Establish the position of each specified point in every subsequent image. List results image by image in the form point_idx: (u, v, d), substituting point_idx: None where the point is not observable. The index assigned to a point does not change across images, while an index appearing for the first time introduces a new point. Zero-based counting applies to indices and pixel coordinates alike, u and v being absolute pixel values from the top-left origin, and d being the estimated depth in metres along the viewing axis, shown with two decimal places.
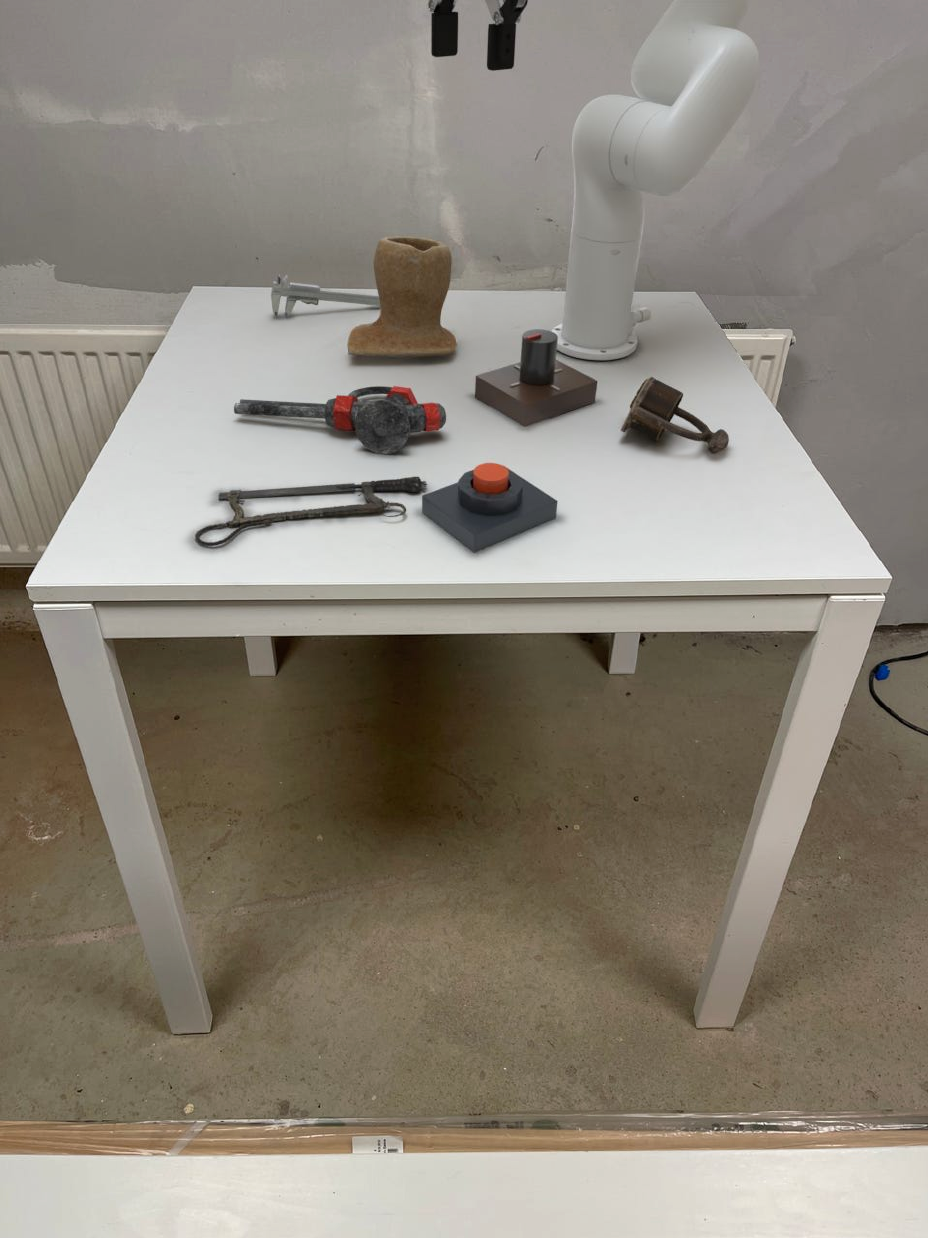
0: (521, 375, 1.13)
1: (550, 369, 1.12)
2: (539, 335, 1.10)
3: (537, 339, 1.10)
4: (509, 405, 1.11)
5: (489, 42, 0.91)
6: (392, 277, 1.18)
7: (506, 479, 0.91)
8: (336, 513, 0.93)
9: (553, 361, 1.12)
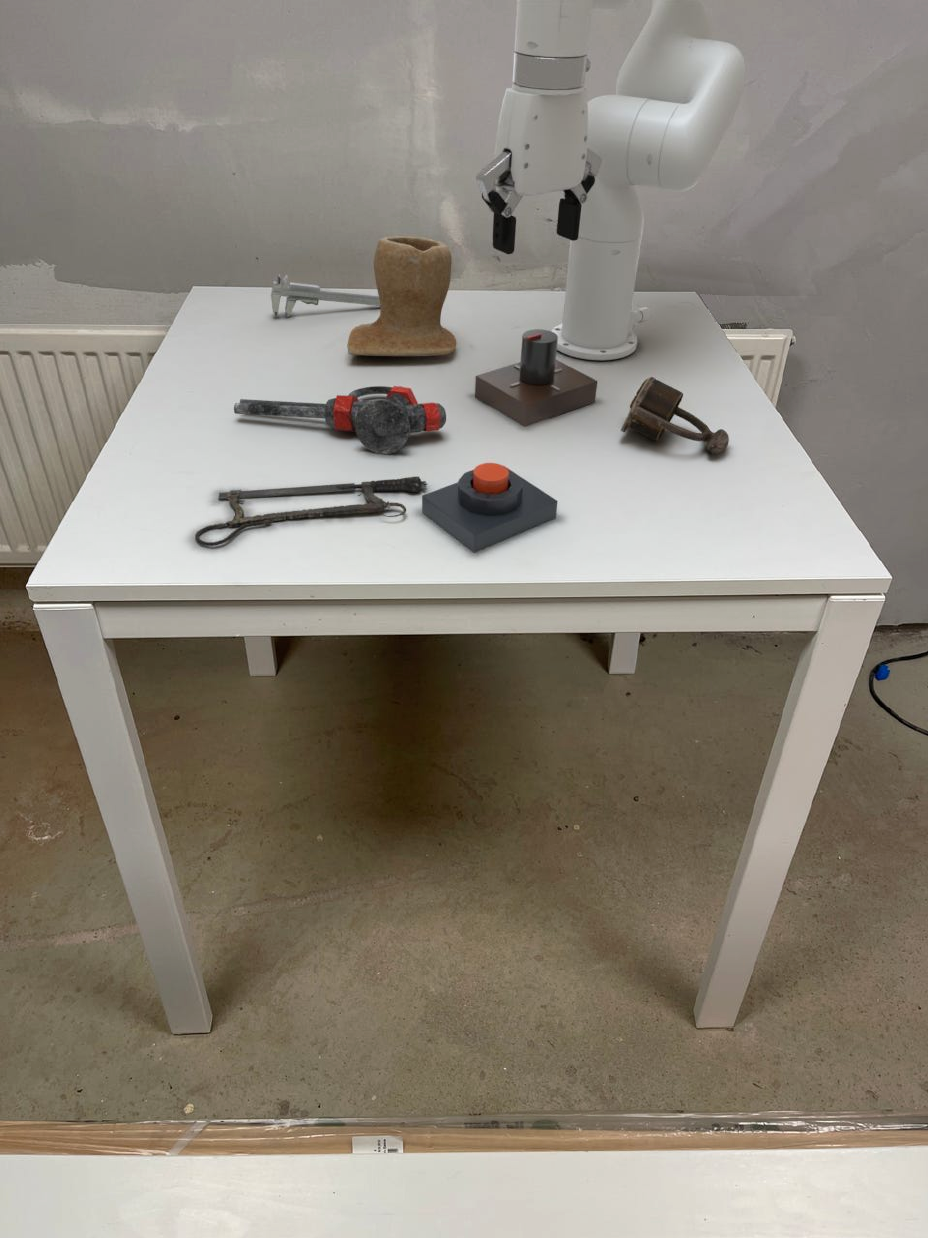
0: (521, 375, 1.13)
1: (550, 369, 1.12)
2: (539, 335, 1.10)
3: (537, 339, 1.10)
4: (509, 405, 1.11)
5: (578, 219, 1.04)
6: (391, 277, 1.18)
7: (506, 479, 0.91)
8: (336, 513, 0.93)
9: (553, 361, 1.12)
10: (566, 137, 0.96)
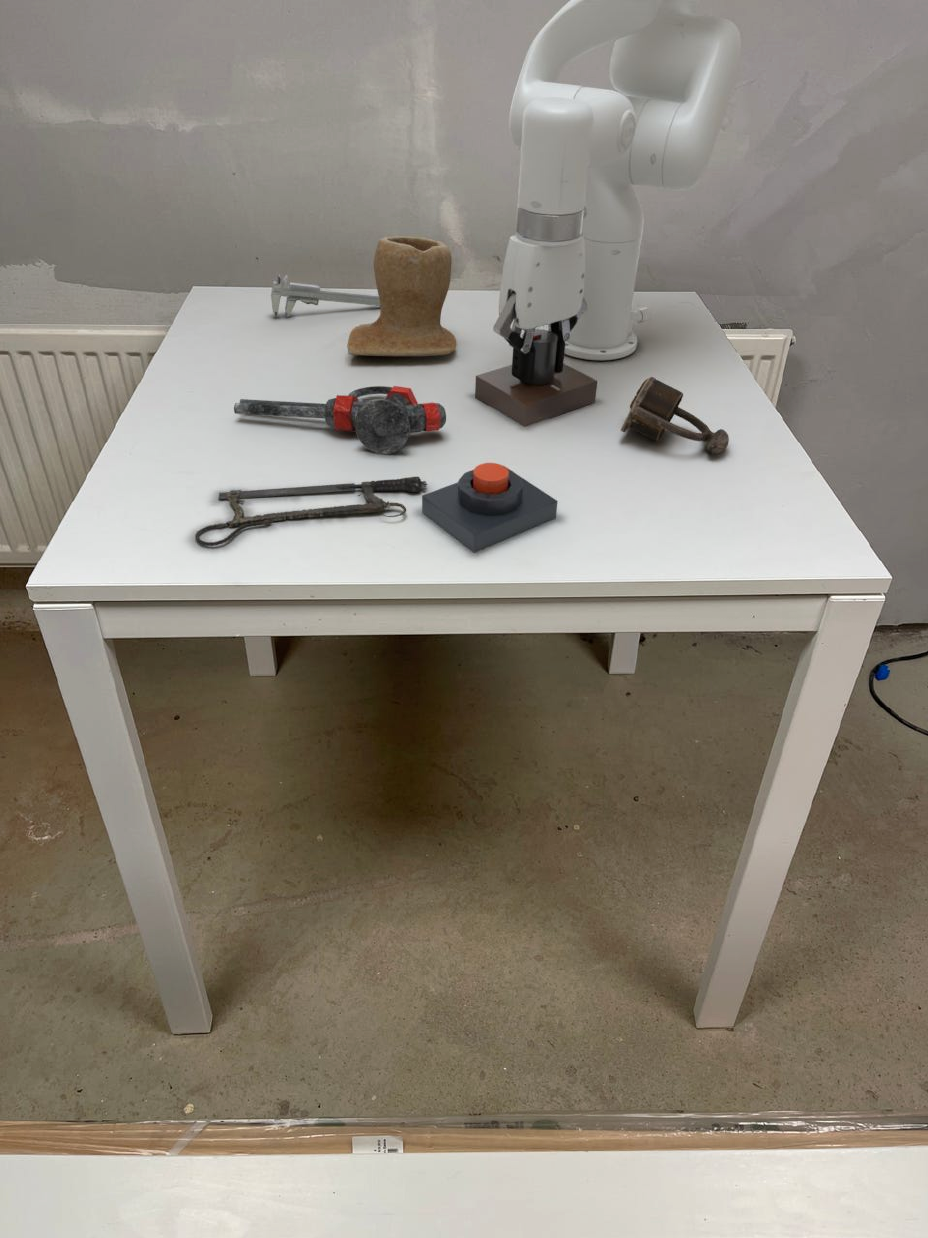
0: None
1: (550, 369, 1.12)
2: (539, 335, 1.10)
3: (537, 339, 1.10)
4: (509, 405, 1.11)
5: (562, 355, 1.13)
6: (391, 277, 1.18)
7: (506, 479, 0.91)
8: (336, 513, 0.93)
9: (553, 361, 1.12)
10: (566, 277, 1.05)
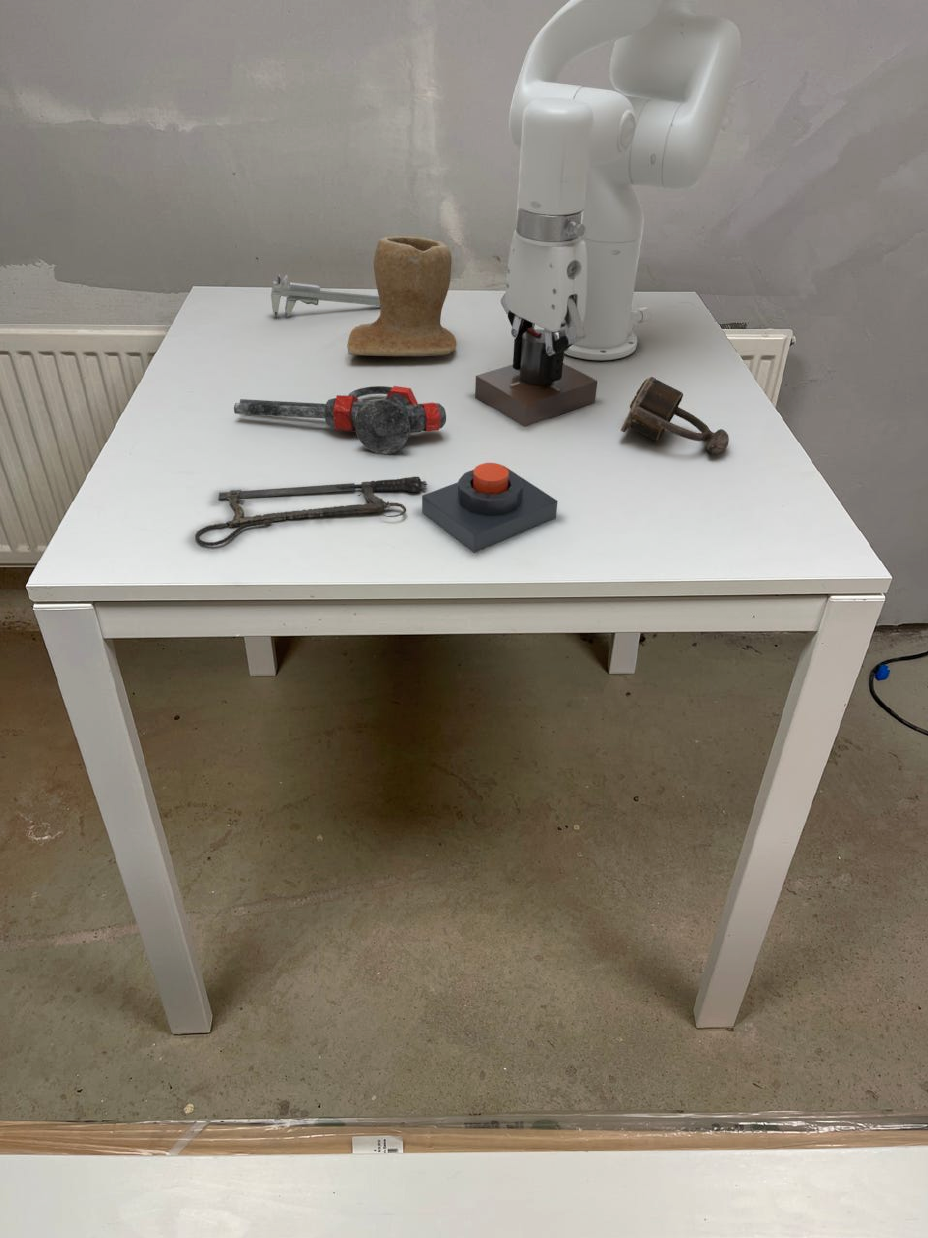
0: None
1: (525, 368, 1.12)
2: (536, 333, 1.11)
3: (531, 334, 1.11)
4: (509, 405, 1.11)
5: (542, 366, 1.10)
6: (391, 277, 1.18)
7: (506, 479, 0.91)
8: (336, 513, 0.93)
9: (529, 362, 1.11)
10: (535, 279, 1.04)
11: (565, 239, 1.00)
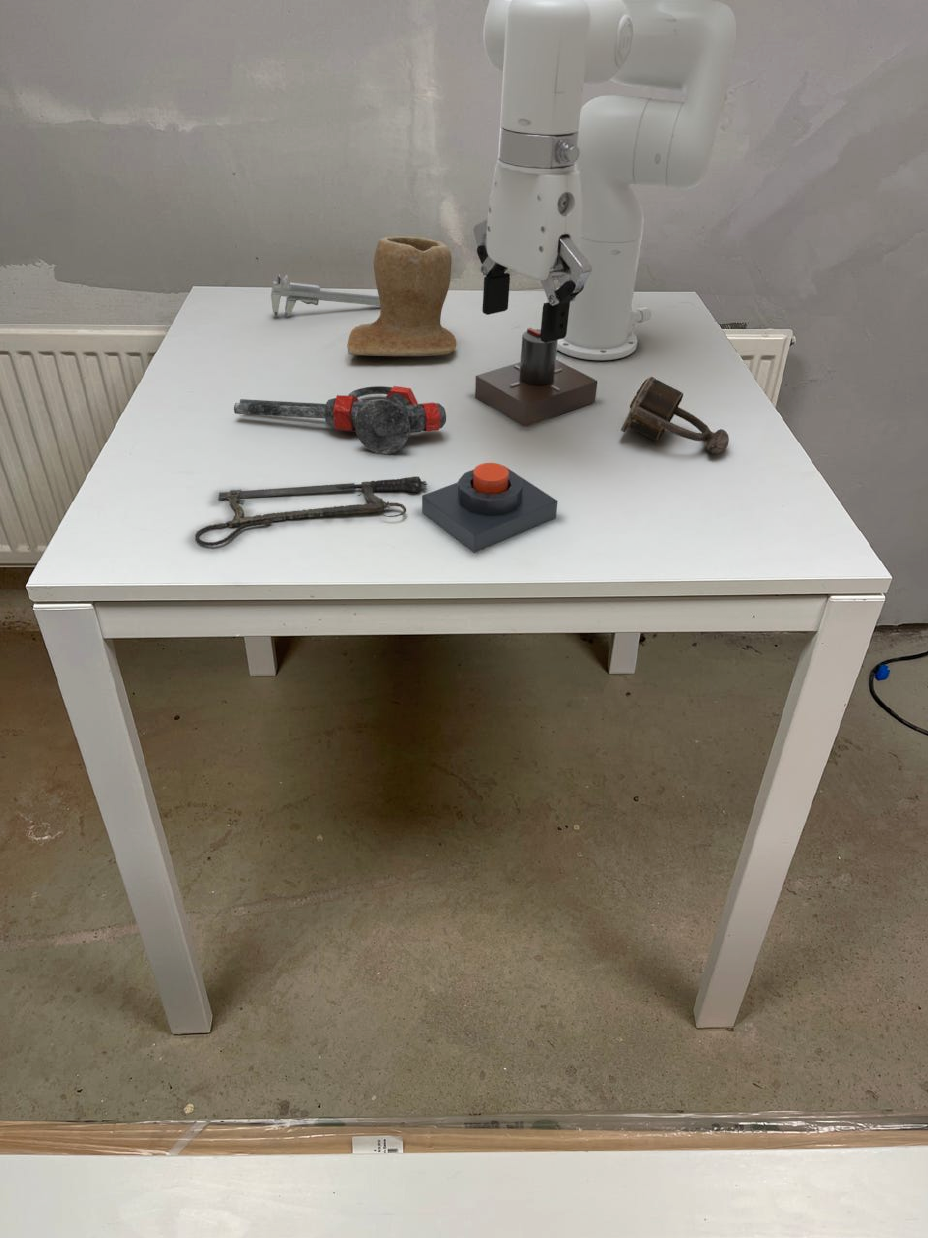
0: None
1: (525, 368, 1.12)
2: (536, 333, 1.11)
3: (531, 334, 1.11)
4: (509, 405, 1.11)
5: (543, 319, 0.92)
6: (391, 277, 1.18)
7: (506, 479, 0.91)
8: (336, 513, 0.93)
9: (529, 362, 1.11)
10: (520, 217, 0.88)
11: (556, 166, 0.84)
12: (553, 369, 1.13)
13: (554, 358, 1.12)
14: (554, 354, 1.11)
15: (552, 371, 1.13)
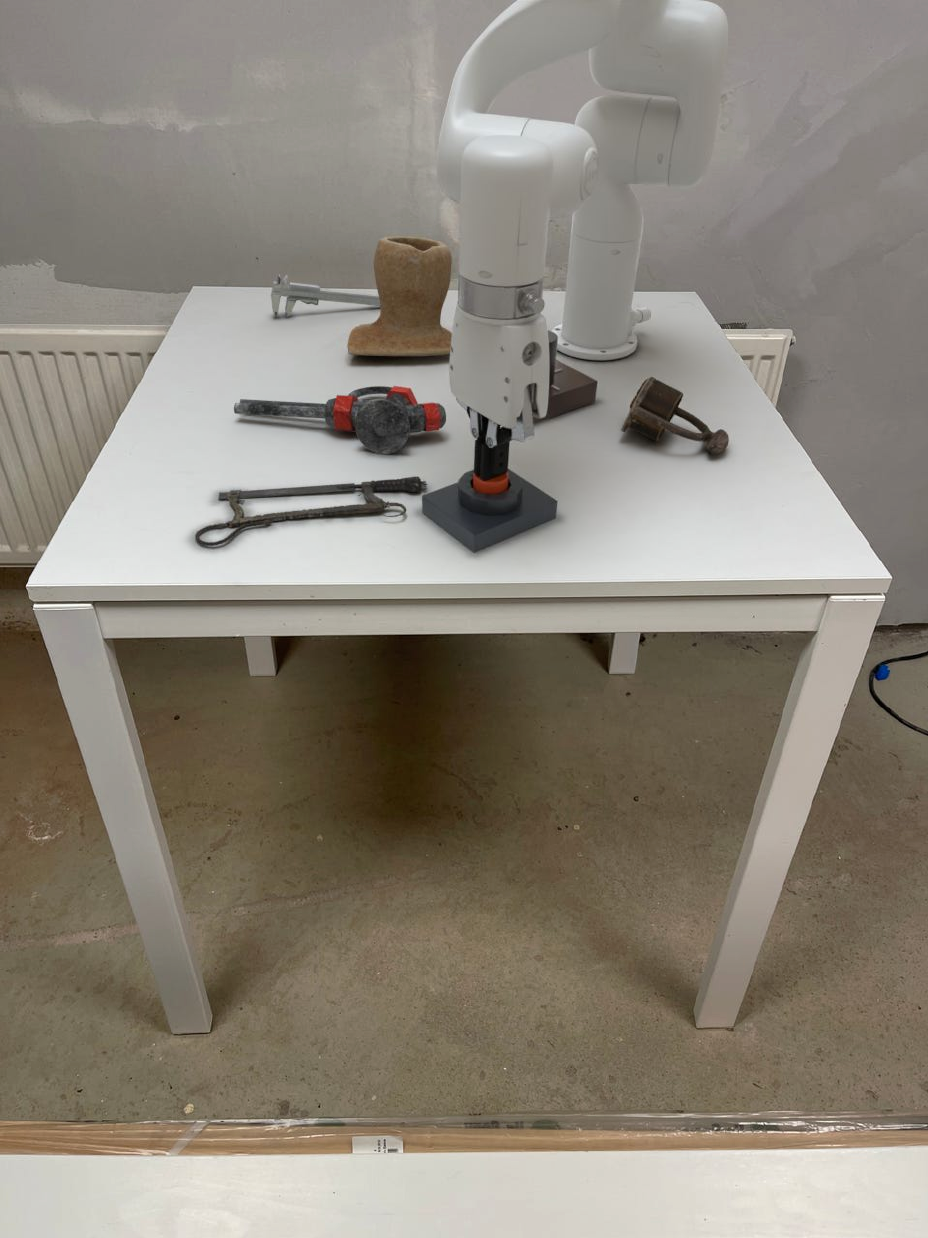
0: None
1: None
2: None
3: None
4: None
5: (482, 459, 0.89)
6: (391, 277, 1.18)
7: (506, 481, 0.91)
8: (336, 513, 0.93)
9: None
10: (483, 364, 0.82)
11: (519, 316, 0.78)
12: (553, 369, 1.13)
13: (554, 358, 1.12)
14: (554, 354, 1.11)
15: (552, 371, 1.13)
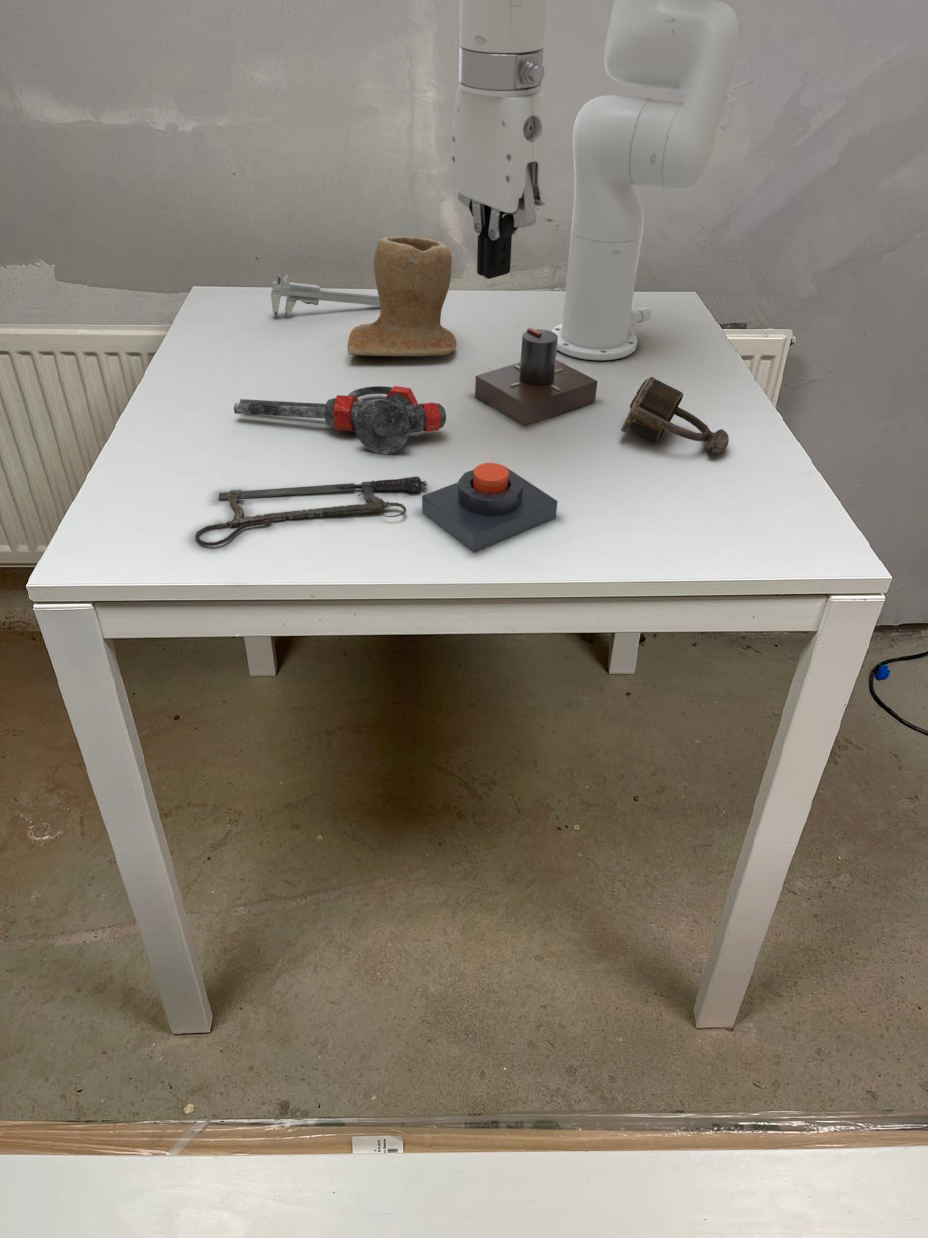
0: None
1: (525, 368, 1.12)
2: (536, 333, 1.11)
3: (531, 334, 1.11)
4: (509, 405, 1.11)
5: (485, 254, 0.91)
6: (391, 277, 1.18)
7: (506, 479, 0.91)
8: (336, 513, 0.93)
9: (529, 362, 1.11)
10: (485, 145, 0.83)
11: (520, 87, 0.79)
12: (553, 369, 1.13)
13: (554, 358, 1.12)
14: (554, 354, 1.11)
15: (552, 371, 1.13)
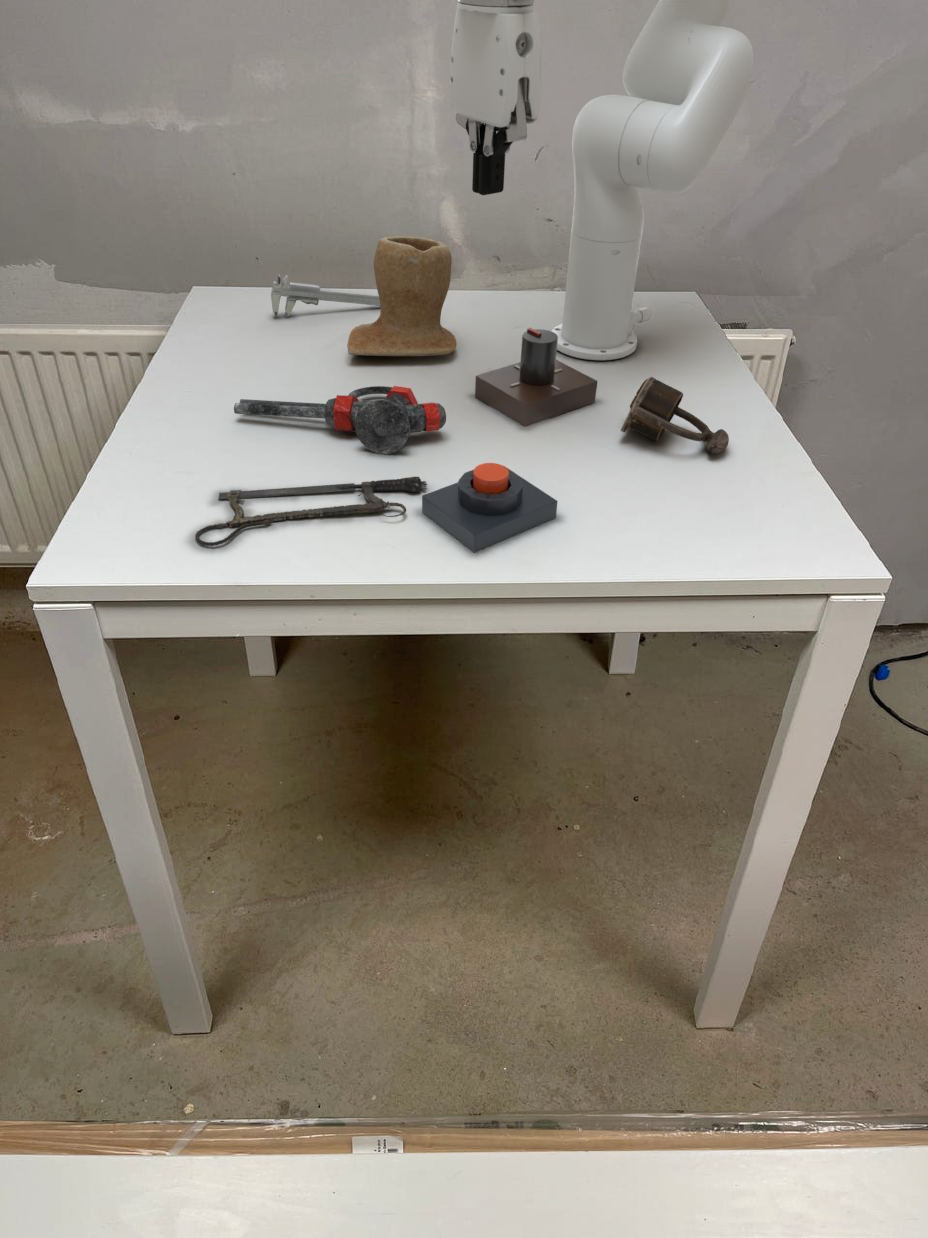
0: None
1: (525, 368, 1.12)
2: (536, 333, 1.11)
3: (531, 334, 1.11)
4: (509, 405, 1.11)
5: (480, 171, 0.97)
6: (391, 277, 1.18)
7: (506, 479, 0.91)
8: (336, 513, 0.93)
9: (529, 362, 1.11)
10: (480, 61, 0.90)
11: (513, 4, 0.86)
12: (553, 369, 1.13)
13: (554, 358, 1.12)
14: (554, 354, 1.11)
15: (552, 371, 1.13)
